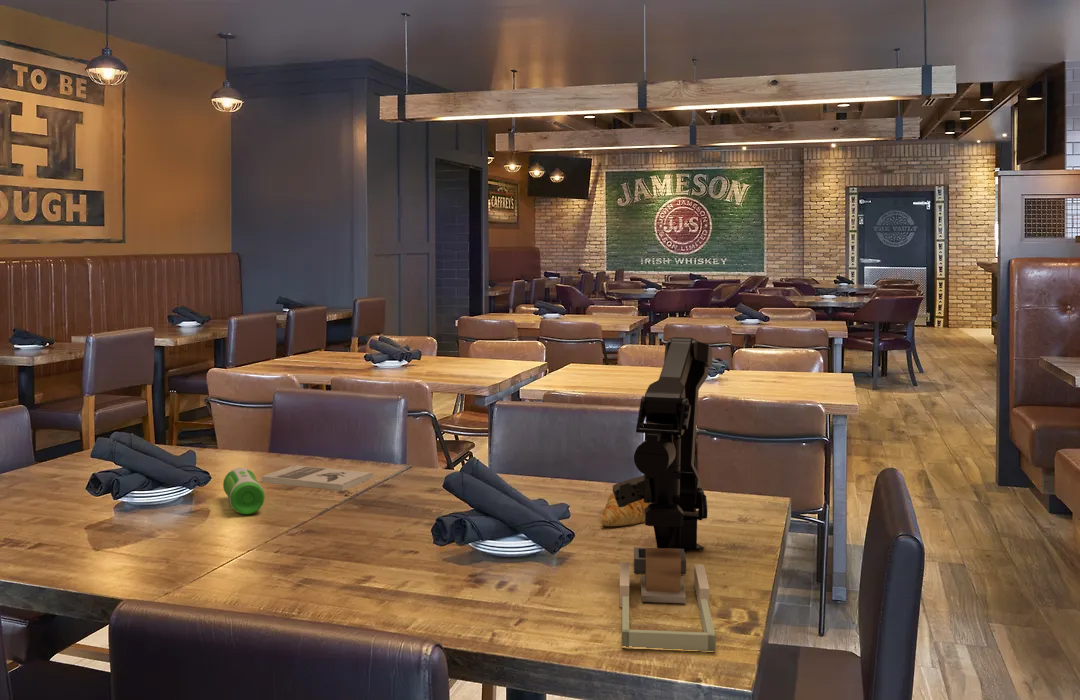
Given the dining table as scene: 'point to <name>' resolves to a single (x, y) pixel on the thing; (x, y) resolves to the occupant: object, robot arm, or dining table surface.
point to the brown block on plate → (663, 577)
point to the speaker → (243, 491)
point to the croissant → (623, 513)
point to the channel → (699, 582)
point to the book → (317, 477)
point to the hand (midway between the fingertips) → (661, 553)
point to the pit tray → (641, 560)
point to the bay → (670, 633)
